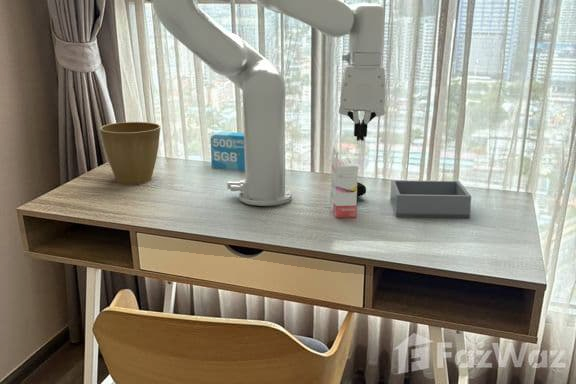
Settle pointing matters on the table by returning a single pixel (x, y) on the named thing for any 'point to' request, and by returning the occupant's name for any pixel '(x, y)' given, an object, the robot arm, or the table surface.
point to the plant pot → (131, 150)
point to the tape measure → (360, 189)
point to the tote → (430, 199)
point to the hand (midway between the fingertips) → (360, 139)
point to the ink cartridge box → (343, 186)
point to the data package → (228, 151)
